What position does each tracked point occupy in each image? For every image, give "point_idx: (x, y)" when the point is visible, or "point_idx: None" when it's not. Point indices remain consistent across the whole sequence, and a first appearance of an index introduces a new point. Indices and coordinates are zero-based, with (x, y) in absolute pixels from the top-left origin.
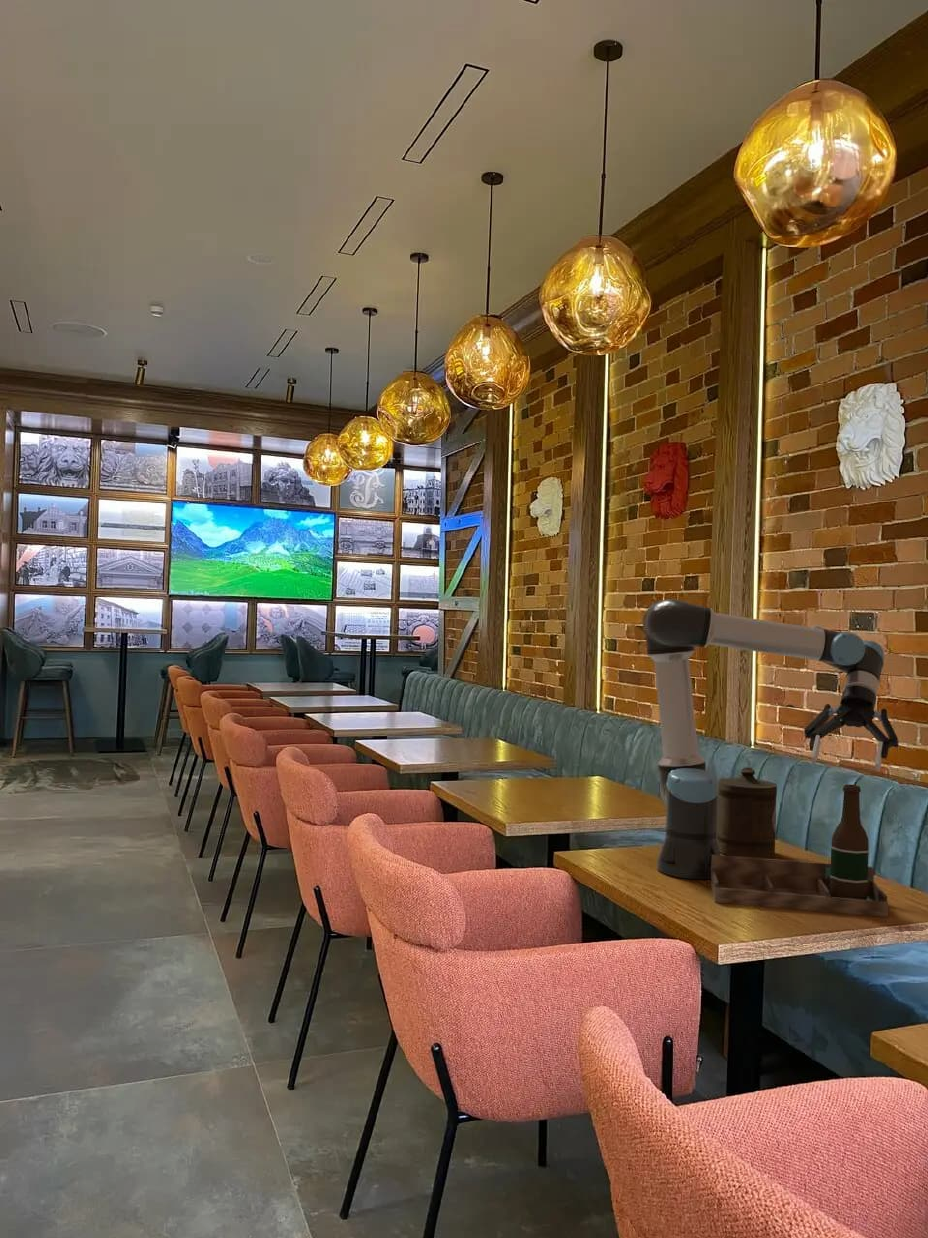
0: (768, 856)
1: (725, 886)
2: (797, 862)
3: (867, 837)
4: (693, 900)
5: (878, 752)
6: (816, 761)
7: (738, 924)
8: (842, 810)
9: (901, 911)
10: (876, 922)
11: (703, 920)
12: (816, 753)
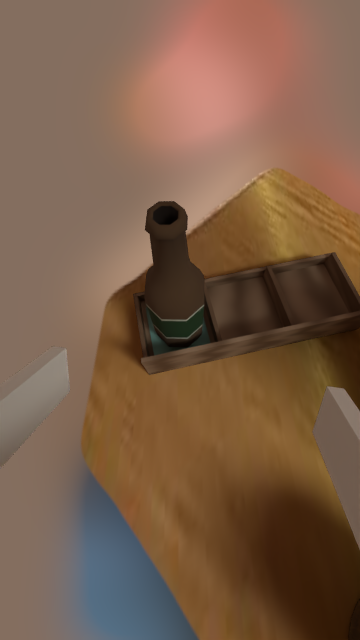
0: (354, 617)
1: (333, 311)
2: (255, 333)
3: (145, 289)
4: (346, 260)
5: (16, 380)
6: (318, 445)
7: (277, 211)
8: (187, 248)
9: (118, 336)
10: None
11: (309, 207)
12: (335, 433)
